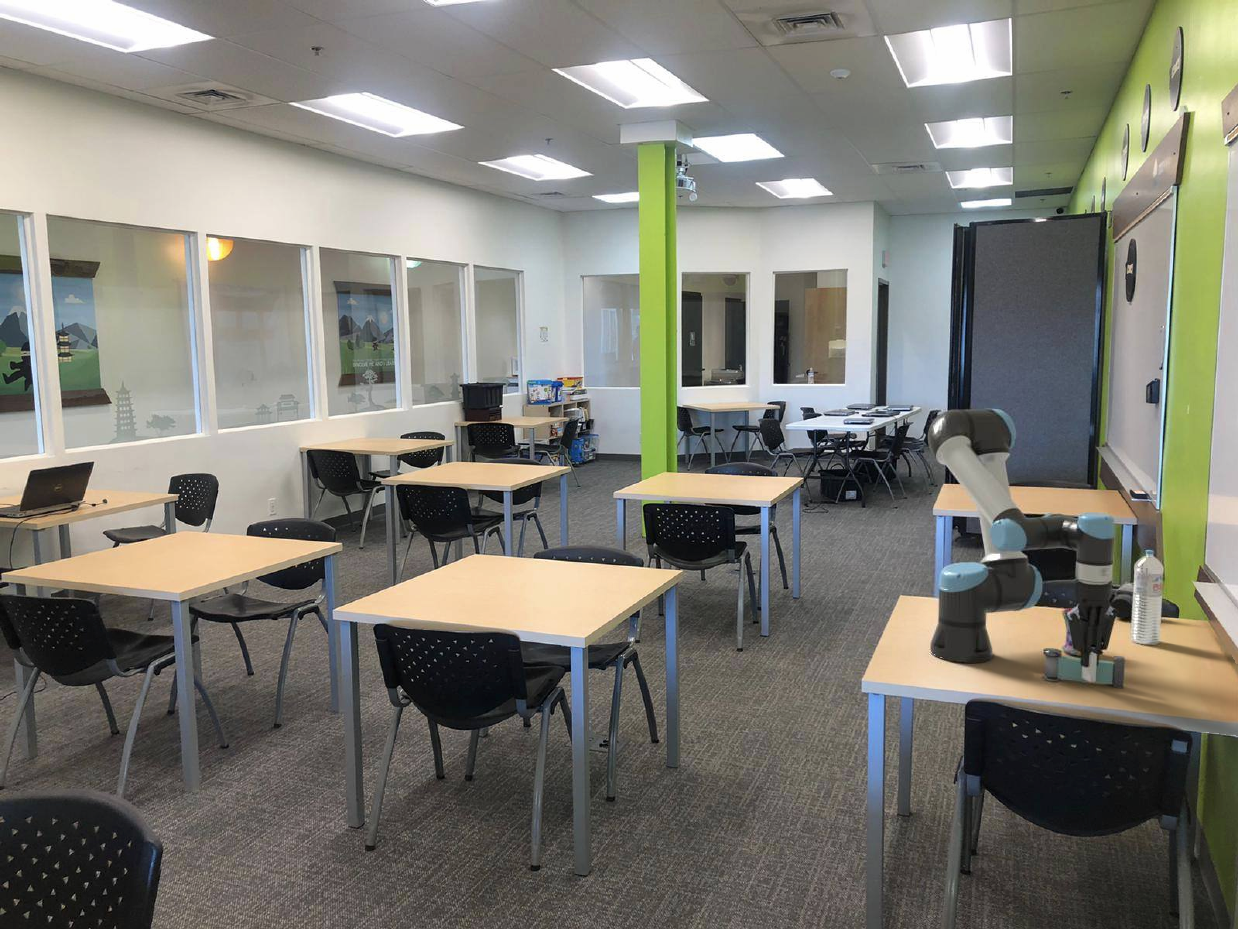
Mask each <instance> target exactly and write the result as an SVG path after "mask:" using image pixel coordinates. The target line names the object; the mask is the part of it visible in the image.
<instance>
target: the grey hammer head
mask: <svg viewBox="0 0 1238 929" xmlns="http://www.w3.org/2000/svg"><path fill="white" fill-rule="evenodd" d="M1042 653H1043V655H1044V656H1045V655H1046V656H1050V657H1061V656H1062V655H1063V651H1062V650H1060V649H1058V648H1053V647H1051V648H1050V647H1048V648H1043V652H1042ZM1062 657H1063V656H1062ZM1042 680H1044V681H1046V682H1051V683H1058V682H1061V680H1062V679H1059V678H1057V677H1056V678H1052V677H1047V676H1045V674H1043V675H1042Z"/></svg>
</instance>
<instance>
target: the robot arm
mask: <svg viewBox="0 0 1238 929" xmlns="http://www.w3.org/2000/svg"><path fill="white" fill-rule="evenodd" d="M1016 439H1017V430H1016V426H1015V423H1014V421H1013V419H1012V417H1011V416H1010V415H1009V414H1008V413H1006V412H1005V411H1004V410H1001V409H998V408H988V407H985V408H972V409H968V408H967V409H950V410H946V411H944V412H943V411H942V413H940V414H939V415H937V416H936V417H935V418H934V420H932V422H931V424H930V426H929V428H928V432H927V442H928V447H929V449H930V452H931V453H932V456H933V457H934V458H935V459H936V461H938V463H939V464H941V465H944V466H946V467H947V468H948V470H949V472H951V474H952V475H953V476H954V478H955V480H957V482H958V483H959V485H960V486H961V487H962V488H963V490H964V491H965V493H967V495H968V496H969V498H970V499H971V500H972V501H973V503H974V504H975V506H976V507H977V510H978V511H977V512H978V518H979V523H980V530H981V535H982V541H983V547H984V553H985V554H984V557H983V558H982V559H981V560H980V562H974V561H970V562H965V561H962V562H955V563H950V564H949V565H946V566H944V567H943V568H942V569H941V571H940V573H939V580H938V612H937V613H938V617H937V618H938V620H937V626H936V627H935V631H934V633H933V636H932V638H931V641H930V650H931V652H932V653H933V654H935V655H936V656H938V657H942V658H944V659H947V660H946V661H948V660H950V661H949V662H953V661H957V662H956V663H961V662H964V663H965V664H966V663H967V664H977V663H985V662H988V661H991V659H993V646H992V643H991V640H990V636H989V633H988V629H987V614H989V613H991V614H993V613H1001V612H1002V613H1003V612H1004V613H1005V612H1018V611H1019V612H1020V611H1022V610H1028V609H1031V608H1032V607H1034V606H1036V604H1037V603H1038V602H1039V600H1040V598H1041V595H1042V592H1043V578H1042V575H1041V572H1040V571H1039V570H1038V568H1037V567H1036V566H1034V565H1032V564H1030V563H1029V558H1028V555H1026V554H1024V553H1023V551H1030V550H1031V551H1033V550H1034V551H1035V550H1044V549H1045V550H1046V549H1048V550H1049V549H1061V548H1062V549H1068V550H1072V551H1074V552H1076V557H1075V573H1074V574H1075V579H1076V580H1075V583H1074V595H1075V598H1076V600H1075V602H1074V606H1073V609H1072V608H1071V609H1072V610H1071V611H1065V615H1066V617H1067V619H1068V622H1069V628H1070V633H1071V639H1072V645H1073V649H1075V650H1077V651H1080V652H1081V656H1080V658H1081V660H1080V664H1081V666H1082V678H1083V679H1085V680H1087V681H1089V683H1095V681H1096V666H1098V664H1099V660H1100V655H1102V654H1103V653H1104V651H1107V650H1108V647H1109V643H1110V640H1111V635H1112V632H1113V628H1114V625H1115V620H1116V618H1118V617H1117V615H1118V614H1119V610H1117V609H1114V608H1112V607H1111V606H1110V602H1109V599H1110V598H1111V590H1112V584H1113V583H1111V582H1112V580H1113V566H1114V564H1113V562H1114V551H1115V550H1114V547H1115V545H1114V544H1115V536H1116V531H1115V530H1116V528H1115V518H1114V517H1113V515H1110V514H1106V513H1100V512H1082V513H1080V514H1079V515H1078V518H1077V517H1073V516H1069V515H1065V514H1063V513H1052V512H1050V513H1046V514H1043V516H1041V517H1026V515H1025V514H1024V513H1023V511H1022V510H1021V509H1020V508H1019V506H1017V504H1016V503H1015V502H1014V500H1013V499H1012V496H1011V490H1010V484H1009V483H1010V482H1009V478H1008V472H1007V466H1006V461H1007V460H1008V458H1009V457H1010V455H1011V452H1010V450H1011V449H1012V448H1013V447H1014V445H1015V443H1016V442H1015V440H1016ZM1078 614H1079V615H1078ZM1080 623H1081V625H1080ZM930 650H929V651H930ZM931 652H930V653H931ZM932 653H931V654H932ZM933 654H932V655H933ZM936 656H935V657H936ZM938 657H937V658H938ZM944 659H943V660H944Z"/></svg>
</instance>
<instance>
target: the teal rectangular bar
mask: <svg viewBox="0 0 1238 929" xmlns="http://www.w3.org/2000/svg"><path fill="white" fill-rule="evenodd" d="M1044 656H1045V658H1044V659H1045V660H1044V661H1045V662H1044V675H1045V676H1047V677H1052V678H1056V677H1057V678H1059V679H1061V680H1070V681H1076V682H1077V681H1078V682H1079V681H1080V682H1089V681H1087V680H1085V679H1083V678H1082V666H1081V664H1080V660H1081V657H1072V656H1061V657H1050V656H1046V655H1044ZM1113 663H1114V661H1108V660H1101V659H1099V664H1098V666H1096V681H1095V682H1094V683H1096V684H1104V685H1105V684H1106V685H1110V684H1112V676H1113ZM1089 683H1090V682H1089Z"/></svg>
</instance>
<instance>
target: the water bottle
mask: <svg viewBox="0 0 1238 929" xmlns="http://www.w3.org/2000/svg"><path fill="white" fill-rule="evenodd" d="M1154 554H1155V551H1154V550H1152V549H1146V550H1145V555H1144V556H1142V557H1141V558H1139V559H1138V560H1136V562H1135V563H1134V566H1133V570H1134V575H1133V577H1134V578H1133V583H1134V591H1133V601H1132V617H1131V624H1130V641H1132V642H1133V643H1136V644H1138V645H1143V646H1155V645H1158V644H1159V643H1160V639H1161V622H1162V608H1163V607H1162V605H1163V603H1162V602H1163V580H1164V578H1163V576H1164V569H1165V568H1164V566H1163V564H1162V562H1161V561H1160V560H1159V559H1158V558H1156V556H1154Z"/></svg>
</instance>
